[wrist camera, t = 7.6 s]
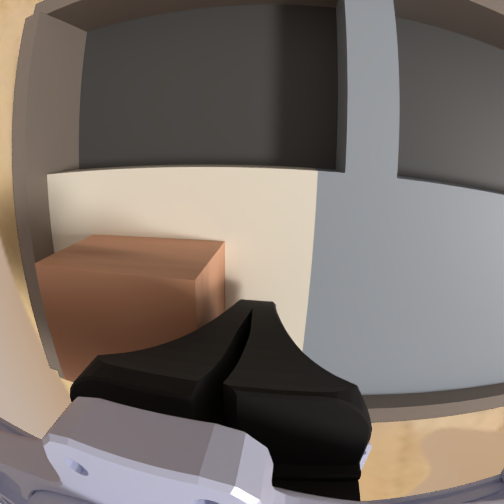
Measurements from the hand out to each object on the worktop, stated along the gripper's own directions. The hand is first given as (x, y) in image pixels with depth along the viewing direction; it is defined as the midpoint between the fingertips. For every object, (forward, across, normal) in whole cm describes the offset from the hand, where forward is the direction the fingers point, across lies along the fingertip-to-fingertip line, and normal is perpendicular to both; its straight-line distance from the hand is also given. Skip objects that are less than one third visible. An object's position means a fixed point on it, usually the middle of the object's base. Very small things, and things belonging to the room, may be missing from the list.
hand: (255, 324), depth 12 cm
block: (+1, +4, 0) cm, 5 cm away
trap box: (+4, -4, -4) cm, 7 cm away
